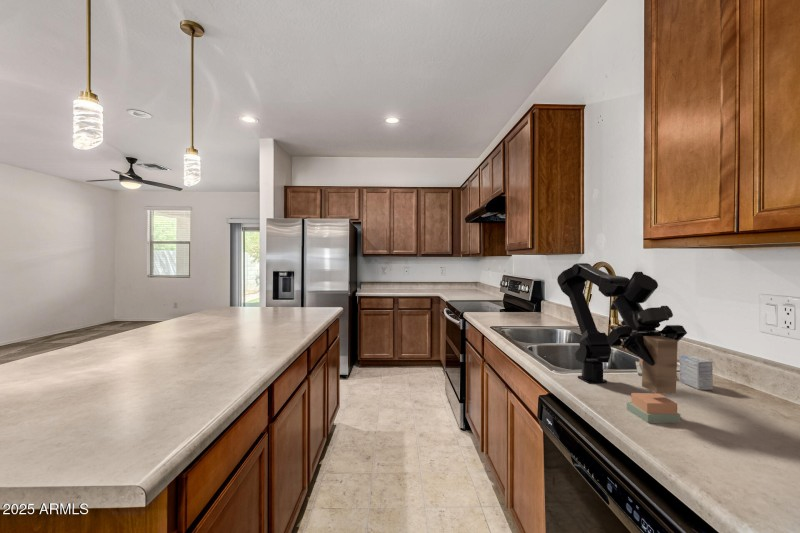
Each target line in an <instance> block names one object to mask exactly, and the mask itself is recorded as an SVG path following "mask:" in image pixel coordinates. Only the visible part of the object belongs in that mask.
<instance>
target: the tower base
mask: <svg viewBox="0 0 800 533" xmlns="http://www.w3.org/2000/svg"><path fill="white" fill-rule="evenodd" d="M626 411H628V412H630V413H631V414H633V415H634V416H636V417H638V418H639V419H641V420H642V421H644V422H646V423H647V424H654V423H655V424H657V423H659V424H660V423H661V424H663V423H666V424H667V423H681V414H680V413H679V412H677V414H653V413H646V412H644V411H643V410H642V409H640V408H639V407H637V406H636V405H634V404H633V403H631V402H630V401H629V402H628V401H627V402H626Z"/></svg>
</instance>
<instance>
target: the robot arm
mask: <svg viewBox="0 0 800 533" xmlns="http://www.w3.org/2000/svg"><path fill="white" fill-rule="evenodd" d="M556 280H557V285H558V286H559V288H560V290H561V292H562V293H563V294H565V295H566V296H567V297H568V298H569V302H570V304H571V308H572V310H573V313H574V316H575V319H576V322H577V325H578V327H579V330H580V334H581V335H580V339H579V342H578V344H579V348H577V350H576V352H575V353H574V354H575V360H576V361H578V362H579V363H581V375H577V378H578V379H580V380H582V381H584V382H586V383H587V384H600V383H608V380H607V379H604V364H603V363H609V362H610V358H611V354H612V348H611V347H620V346H621V348H622V349H626V350H627V351H629V352H630V353H632V354H634V355H635V356H637V357H638V358H641V359H642V360H644V361H645V362H647V363H648V364H649V365H651V366H653V365H654V364H655V363H654V361H653V358H652V356H651V355H650V353H649V351H648V349H647V348H646V346H645V344H644V339H643V336H663V337H667V338H671V339H674V340H678V342H679V341H681V340H682V338H684V337H685V335H687V334H688V332H687V330H686V329H685V328H684V325H681V324H680V325H679V324H669V325H668V324H666V325H665V326H664V327H663V328H662V329H661V330H657V329H658V328H659V327H660V326H661V324H660V323H662V322H665V321H666V322H667V321H669V320H670V319H671V318H673V316H674V313H673V312H672V309H671V308H670V307H669V306H668V305H661V306H659V307H648V308H645V309H644V308H643V307H642V305H641V304H643V303H646V302H647V300H648V299H650V297H651V296H652V294H653V293H654V292H655V291H656V290H657V289H658V287H659V284H658V281H657V280H656V279H654V278H653V277H651V276H650V275H647V274H644V273H643V271H634V272H633V274H632V275H631V277H630V278H628V277H625V276H620V275H613V274H609V273H607V272H604V271H603V270H600V269H599V268H597V267H594V266H593V265H591V264H590V263H587V262H585V263H584V262H581V263H580V262H578V263H575V264H573V265H572V266H571V267H569V268H566V269H565V270H562V272H561V273H559V275H558V276H557V279H556ZM586 282H590V283H592V284H593V285H596V286H597V288H598V291H599V292H600V293H601V294H602V295H603V296H604V297H606V298H615V299H614V300H612V301H611V302H612V303H611V305H610V311H617V312H618V313H619V316H620V317H621V319H622V321H620V324H621V326H620V325H615V326H614V327H613V328H612V329H611V330H610V331H609V333H608V334H606V332H601V331H599V330H598V328H597V326H596V322H595V320H594V317H593V315H592V312H591V309H590V307H589V305H588V301H587V299H586V296H585V293H584V290H585V287H586ZM622 343H623V344H622Z"/></svg>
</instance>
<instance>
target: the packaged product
mask: <svg viewBox="0 0 800 533" xmlns="http://www.w3.org/2000/svg"><path fill="white" fill-rule="evenodd" d="M638 359H639V361H635V365H636V366H635V367H636V373H637V375H638V376H641V377H642V366H643V360H642V359H641V358H640V357H638Z"/></svg>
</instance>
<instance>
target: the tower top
mask: <svg viewBox="0 0 800 533" xmlns="http://www.w3.org/2000/svg"><path fill="white" fill-rule="evenodd" d="M630 394H631V395H630V397H631V403H633V404H634V405H636V406H637V407H639V408H640V409H642V410H643V411H644V412H646V413H653V414H677V413H678V403H677V402H675V401H674V400H671V399H670V398H668V397H666V396H664V395H663V394H662V393H655V392H654V393H645V392H643V393H642V392H631V393H630Z"/></svg>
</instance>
